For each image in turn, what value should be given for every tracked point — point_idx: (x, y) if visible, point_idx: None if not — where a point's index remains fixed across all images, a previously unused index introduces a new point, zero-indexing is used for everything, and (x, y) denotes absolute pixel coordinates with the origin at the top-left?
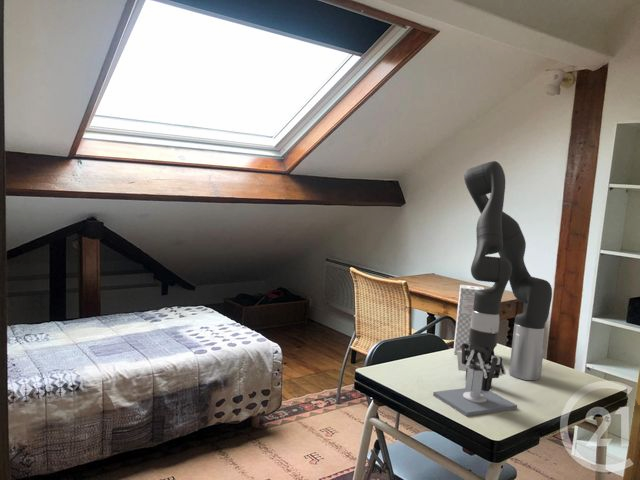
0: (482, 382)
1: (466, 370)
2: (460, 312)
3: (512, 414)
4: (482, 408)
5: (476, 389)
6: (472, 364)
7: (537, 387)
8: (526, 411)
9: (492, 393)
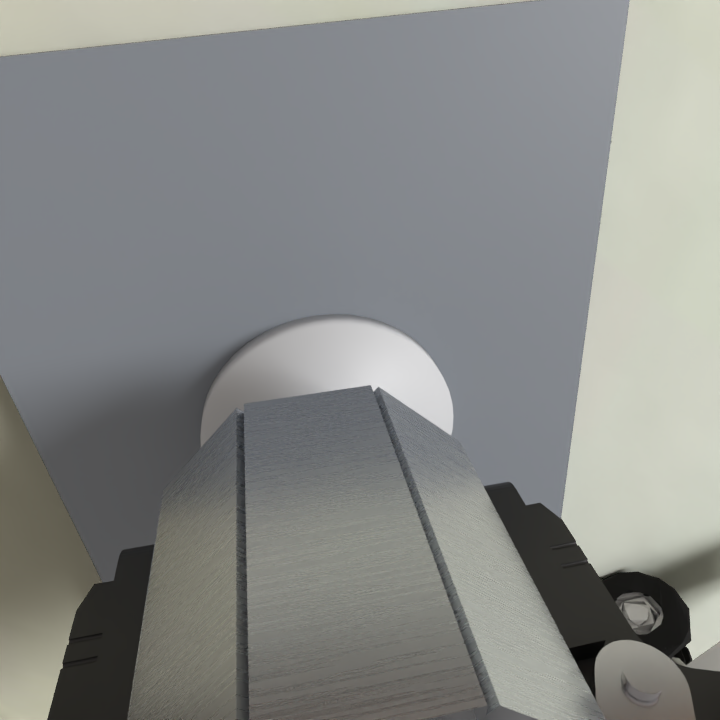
0: (140, 640)
1: (609, 605)
2: None
3: (32, 586)
4: (49, 377)
5: (194, 480)
6: None
7: None
8: None
9: None
